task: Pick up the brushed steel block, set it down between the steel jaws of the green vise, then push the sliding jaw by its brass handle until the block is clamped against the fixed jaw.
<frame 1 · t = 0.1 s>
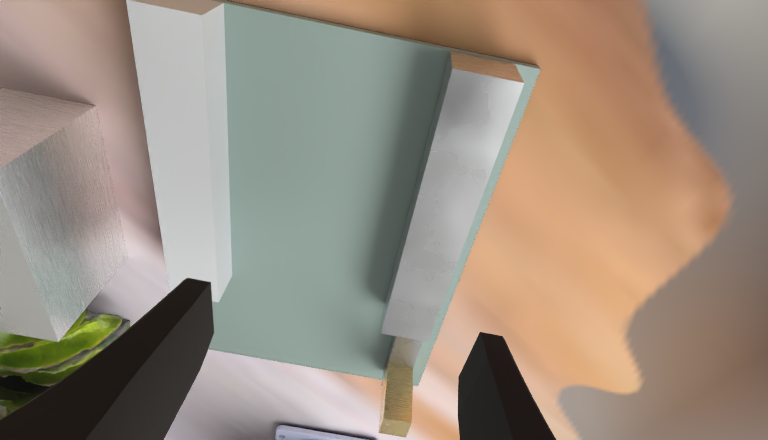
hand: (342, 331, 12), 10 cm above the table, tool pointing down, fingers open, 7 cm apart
steel block: (74, 181, 23), on the table
sliding jaw: (421, 286, 21), point 3 cm above the table, slide at 0.0 cm
vise base: (293, 208, 22), on the table
green leafy plant: (46, 316, 29), on the table
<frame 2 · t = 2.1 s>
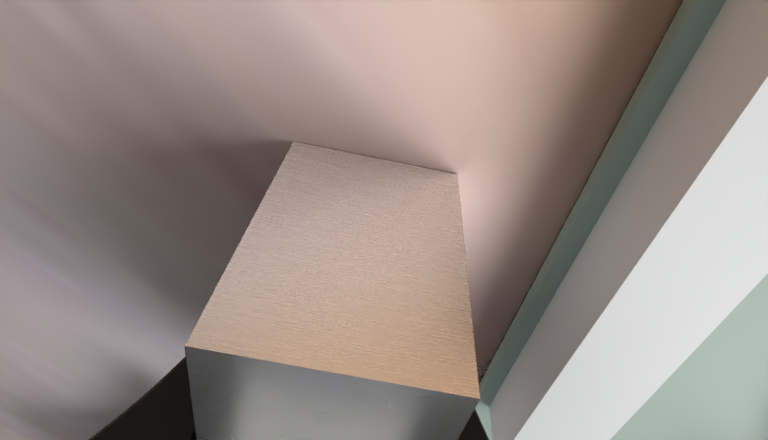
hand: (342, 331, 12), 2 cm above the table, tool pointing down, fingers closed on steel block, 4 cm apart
steel block: (350, 288, 14), on the table, touching gripper
vise base: (721, 334, 13), on the table
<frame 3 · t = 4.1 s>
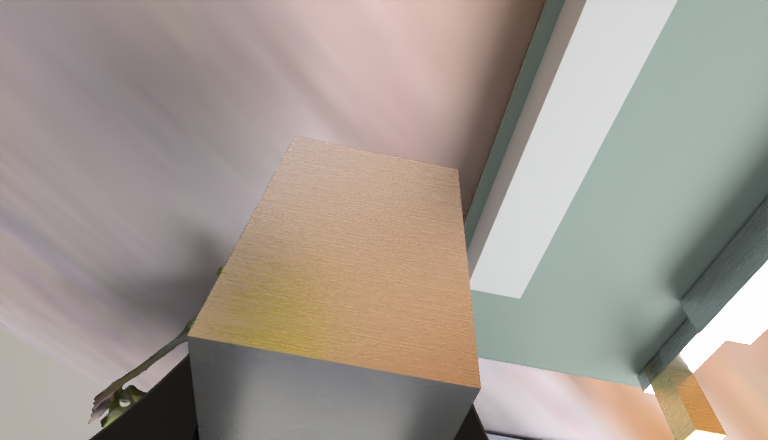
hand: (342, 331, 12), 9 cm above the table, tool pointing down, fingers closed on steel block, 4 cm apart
steel block: (351, 284, 14), point 8 cm above the table, touching gripper
vise base: (619, 192, 20), on the table
green leafy plant: (261, 314, 27), on the table
when the fingers open (4 cm above the table, at t = 6.4 s): steel block drops 1 cm, resting on vise base.
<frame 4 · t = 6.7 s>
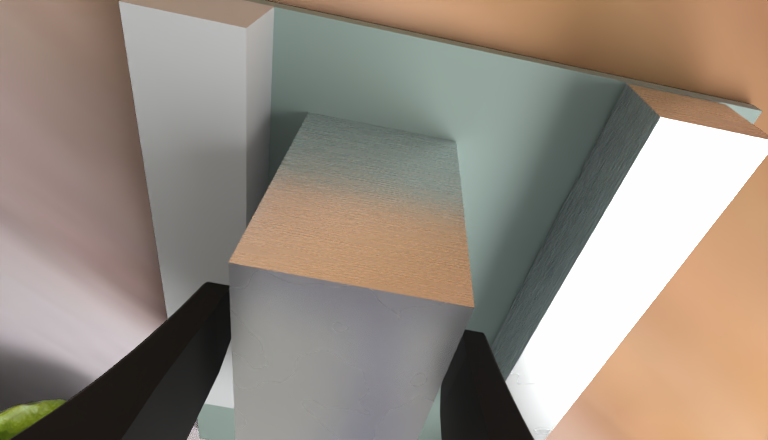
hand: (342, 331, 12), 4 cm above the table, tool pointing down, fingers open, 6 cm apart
steel block: (359, 252, 15), resting on vise base
sliding jaw: (536, 405, 15), point 3 cm above the table, slide at 0.0 cm
vise base: (350, 288, 16), on the table
green leafy plant: (22, 399, 23), on the table
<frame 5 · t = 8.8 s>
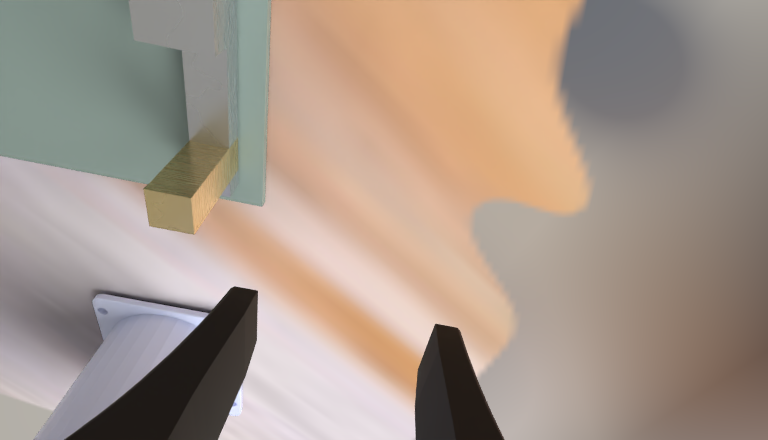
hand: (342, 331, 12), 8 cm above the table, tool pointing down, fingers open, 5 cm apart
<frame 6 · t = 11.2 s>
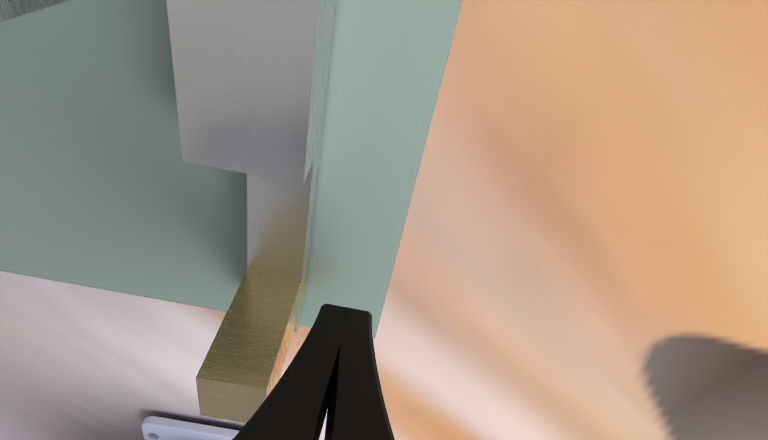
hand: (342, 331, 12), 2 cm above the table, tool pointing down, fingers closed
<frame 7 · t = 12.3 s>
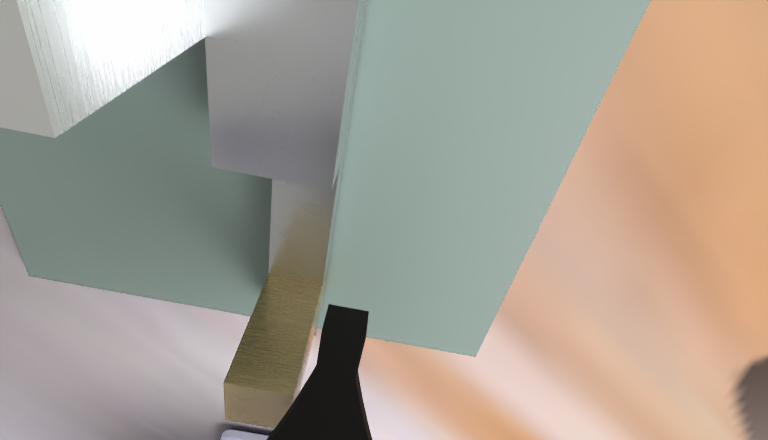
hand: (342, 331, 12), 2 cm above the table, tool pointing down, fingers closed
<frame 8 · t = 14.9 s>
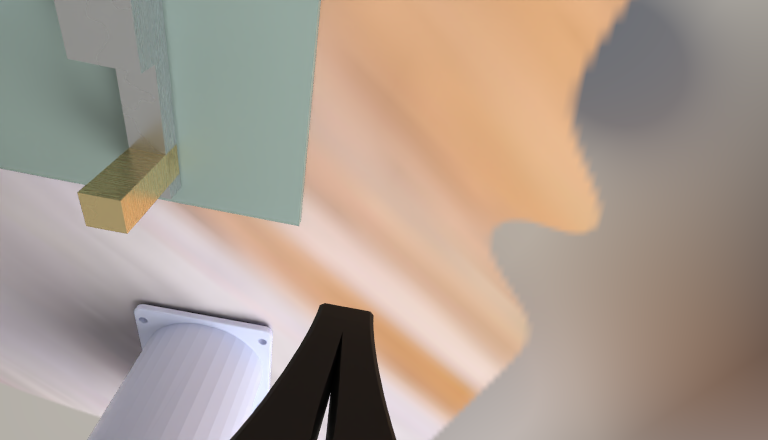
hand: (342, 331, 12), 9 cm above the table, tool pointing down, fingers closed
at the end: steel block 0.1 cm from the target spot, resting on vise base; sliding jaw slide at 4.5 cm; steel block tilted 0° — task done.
